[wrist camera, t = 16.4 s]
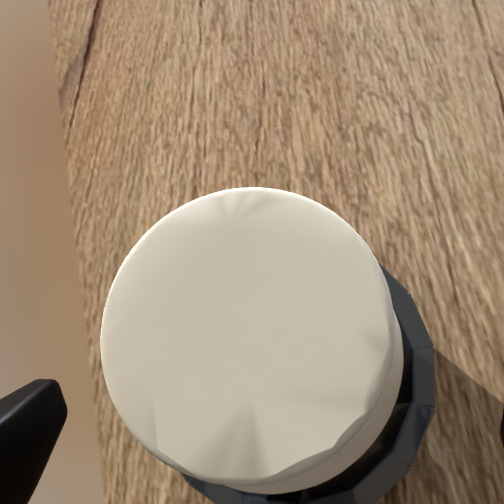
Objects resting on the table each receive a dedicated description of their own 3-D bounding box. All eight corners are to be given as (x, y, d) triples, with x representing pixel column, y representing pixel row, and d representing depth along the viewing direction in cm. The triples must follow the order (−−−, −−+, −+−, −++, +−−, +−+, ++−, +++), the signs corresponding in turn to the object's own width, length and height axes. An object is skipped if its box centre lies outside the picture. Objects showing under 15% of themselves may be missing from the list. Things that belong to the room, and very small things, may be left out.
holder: (216, 529, 15) (177, 567, 11) (170, 305, 18) (129, 276, 14) (451, 460, 14) (493, 476, 10) (359, 243, 17) (367, 197, 14)
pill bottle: (380, 464, 14) (475, 555, 5) (214, 459, 15) (33, 526, 6) (366, 298, 16) (413, 145, 7) (220, 303, 17) (95, 173, 8)
